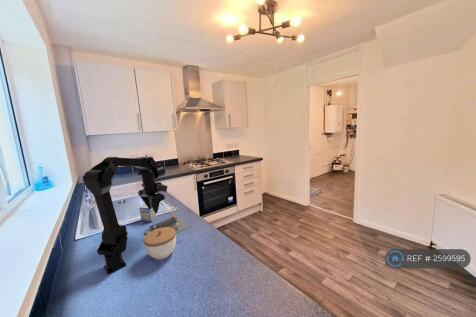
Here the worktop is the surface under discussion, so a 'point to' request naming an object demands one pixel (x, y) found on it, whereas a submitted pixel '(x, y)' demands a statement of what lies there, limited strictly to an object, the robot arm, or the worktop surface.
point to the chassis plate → (175, 226)
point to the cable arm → (164, 223)
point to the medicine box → (147, 214)
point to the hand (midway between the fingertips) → (153, 210)
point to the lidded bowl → (160, 242)
